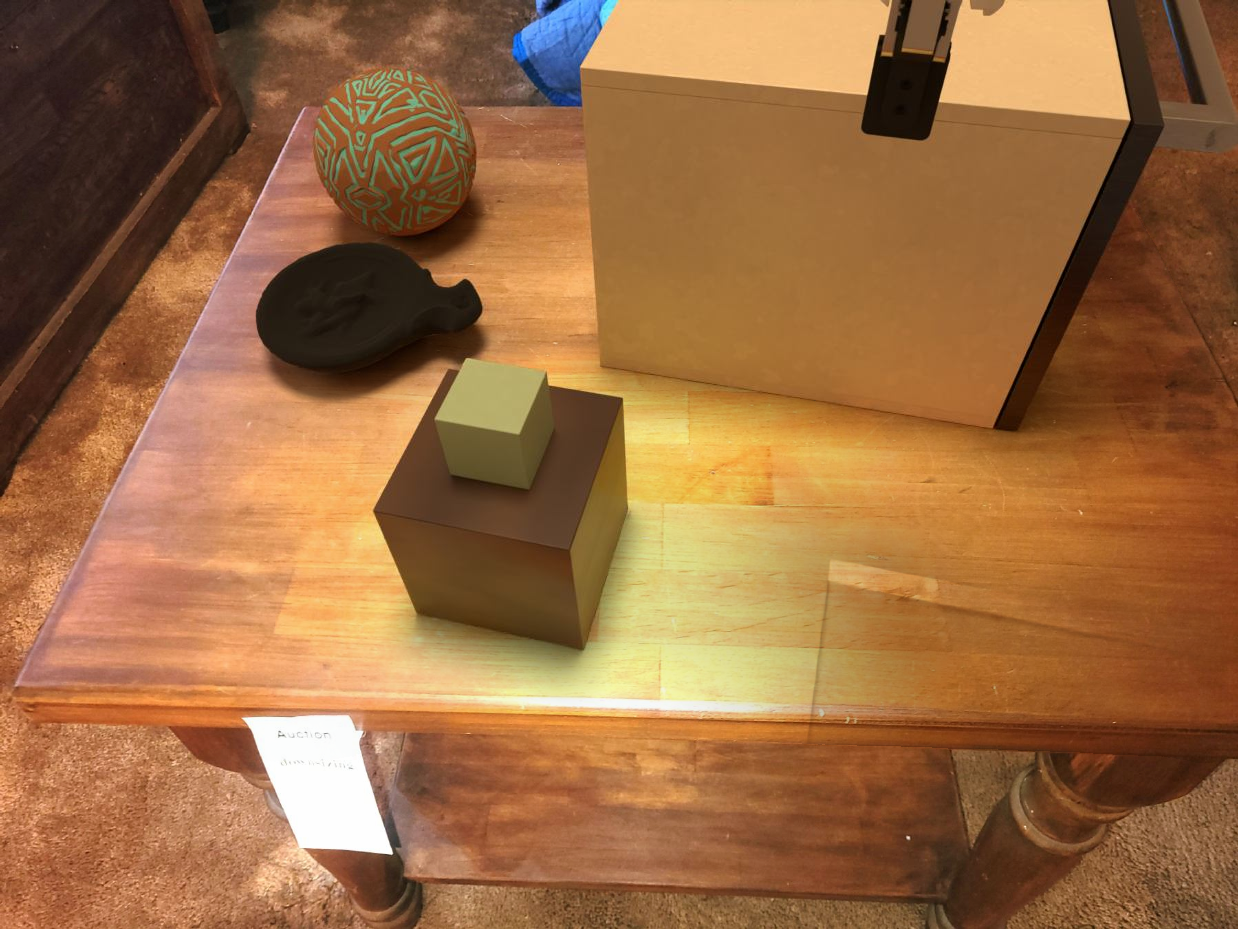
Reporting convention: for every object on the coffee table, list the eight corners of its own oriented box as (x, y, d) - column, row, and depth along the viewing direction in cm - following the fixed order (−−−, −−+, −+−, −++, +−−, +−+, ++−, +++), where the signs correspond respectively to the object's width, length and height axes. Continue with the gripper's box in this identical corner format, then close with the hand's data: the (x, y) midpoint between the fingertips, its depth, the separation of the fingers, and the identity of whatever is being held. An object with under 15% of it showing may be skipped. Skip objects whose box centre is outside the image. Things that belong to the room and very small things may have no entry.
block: (554, 427, 54) (547, 370, 51) (529, 490, 51) (519, 434, 48) (479, 414, 55) (465, 357, 51) (450, 475, 52) (433, 419, 48)
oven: (990, 152, 93) (1082, -131, 73) (992, 428, 69) (1131, 119, 49) (693, 121, 99) (703, -149, 79) (600, 366, 75) (579, 66, 55)
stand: (628, 508, 65) (623, 397, 56) (583, 650, 58) (569, 550, 49) (476, 479, 67) (448, 367, 58) (416, 613, 60) (371, 510, 51)
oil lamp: (467, 408, 72) (456, 364, 68) (243, 391, 74) (220, 348, 70) (505, 290, 81) (497, 246, 78) (304, 279, 83) (287, 235, 80)
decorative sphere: (460, 275, 83) (428, 128, 71) (314, 259, 85) (260, 114, 74) (505, 185, 92) (483, 42, 81) (372, 172, 95) (332, 31, 83)
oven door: (1069, 159, 91) (1183, -124, 72) (1099, 444, 67) (1285, 136, 47) (993, 151, 93) (1084, -129, 73) (996, 428, 69) (1134, 122, 49)
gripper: (1167, -356, 23) (970, 232, 37) (1127, -437, 32) (980, 62, 46) (874, -359, 24) (792, 207, 39) (914, -436, 33) (836, 47, 47)
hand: (895, 127), depth 42 cm, fingers closed
